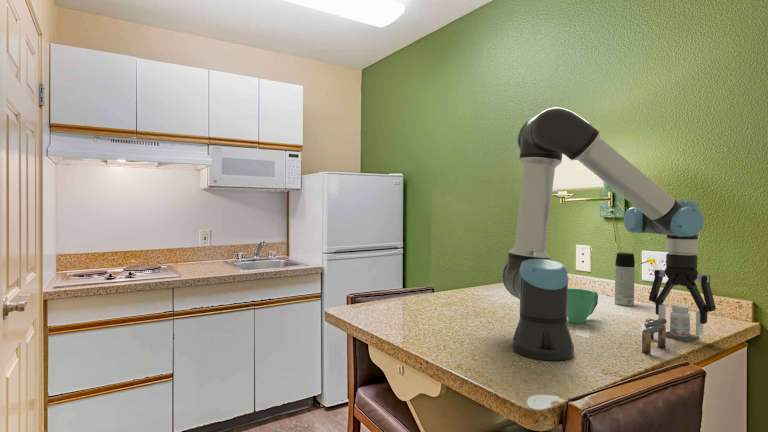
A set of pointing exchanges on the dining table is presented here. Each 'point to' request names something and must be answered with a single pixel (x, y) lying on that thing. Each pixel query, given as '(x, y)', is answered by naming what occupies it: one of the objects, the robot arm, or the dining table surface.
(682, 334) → the pill bottle
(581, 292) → the mug
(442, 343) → the dining table surface
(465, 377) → the dining table surface
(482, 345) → the dining table surface
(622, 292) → the spray can
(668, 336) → the pad
